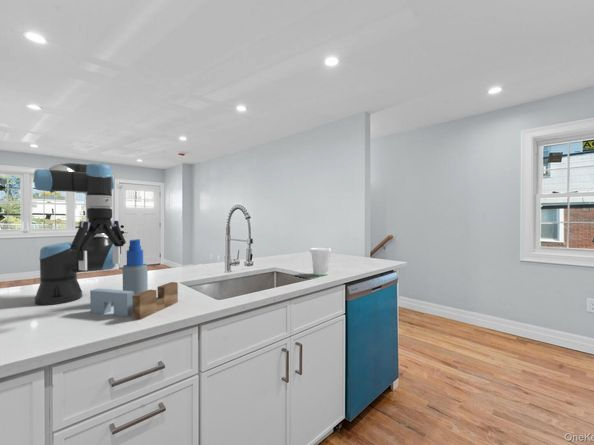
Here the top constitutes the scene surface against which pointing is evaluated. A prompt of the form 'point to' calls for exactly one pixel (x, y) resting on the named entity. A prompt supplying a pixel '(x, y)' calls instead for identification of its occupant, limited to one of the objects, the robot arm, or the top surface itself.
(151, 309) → the slotted stand
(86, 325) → the top surface
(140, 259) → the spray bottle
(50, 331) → the top surface
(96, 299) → the slotted plate
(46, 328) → the top surface
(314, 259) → the cup
